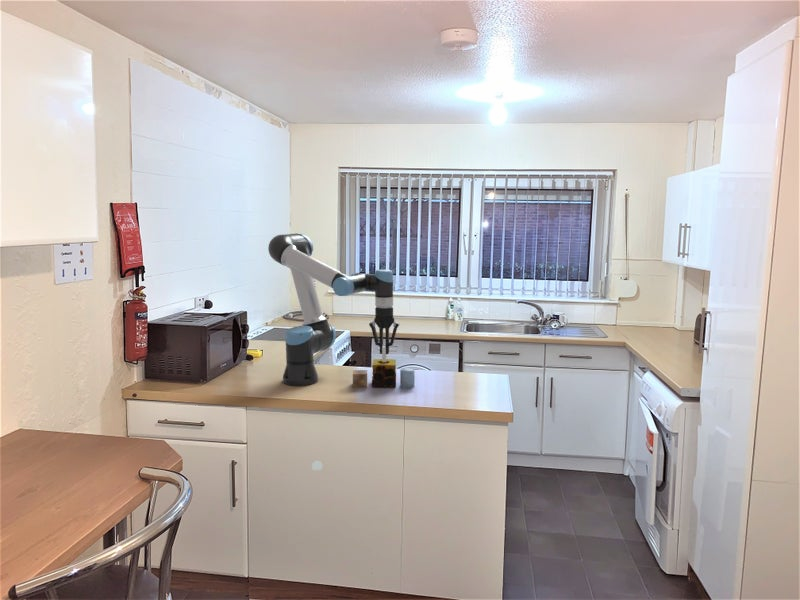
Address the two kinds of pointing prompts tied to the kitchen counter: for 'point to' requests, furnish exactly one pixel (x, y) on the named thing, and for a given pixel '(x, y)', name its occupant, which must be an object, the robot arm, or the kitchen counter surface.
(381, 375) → the candle
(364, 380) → the brown jar
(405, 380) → the blue cylinder
